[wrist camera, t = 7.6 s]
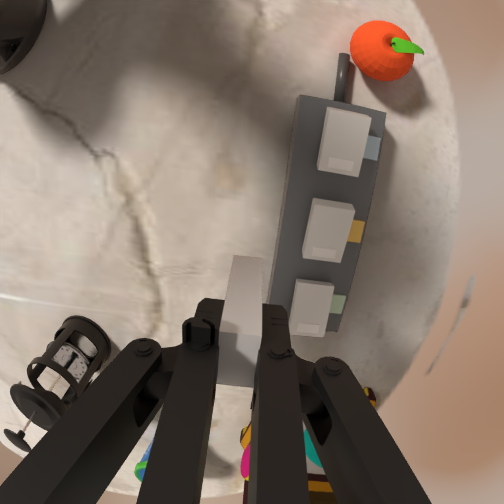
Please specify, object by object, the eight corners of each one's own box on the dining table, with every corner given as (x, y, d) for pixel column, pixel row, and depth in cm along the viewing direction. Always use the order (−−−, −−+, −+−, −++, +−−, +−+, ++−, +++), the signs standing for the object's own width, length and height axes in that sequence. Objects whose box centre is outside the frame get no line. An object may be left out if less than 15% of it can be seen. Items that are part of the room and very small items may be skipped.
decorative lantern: (231, 431, 53) (212, 580, 25) (267, 356, 45) (261, 561, 18) (330, 448, 54) (344, 582, 26) (383, 381, 47) (433, 545, 19)
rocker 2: (313, 197, 31) (314, 205, 30) (352, 204, 31) (355, 211, 30) (301, 249, 34) (302, 258, 33) (338, 254, 34) (340, 263, 33)
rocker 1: (327, 106, 28) (329, 109, 26) (367, 115, 28) (372, 118, 26) (316, 164, 31) (318, 170, 30) (354, 171, 31) (358, 177, 30)
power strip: (303, 48, 30) (307, 39, 26) (380, 65, 30) (393, 59, 26) (265, 307, 42) (265, 325, 38) (332, 314, 42) (337, 333, 38)
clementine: (404, 34, 28) (430, 20, 22) (409, 88, 31) (438, 82, 24) (340, 27, 29) (356, 7, 22) (345, 82, 31) (363, 73, 25)
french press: (55, 308, 45) (-28, 402, 23) (103, 315, 44) (24, 427, 23) (73, 363, 49) (13, 458, 28) (118, 373, 49) (64, 481, 27)
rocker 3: (296, 278, 36) (298, 282, 34) (331, 282, 36) (334, 286, 34) (287, 328, 37) (289, 334, 35) (321, 331, 37) (324, 338, 35)
